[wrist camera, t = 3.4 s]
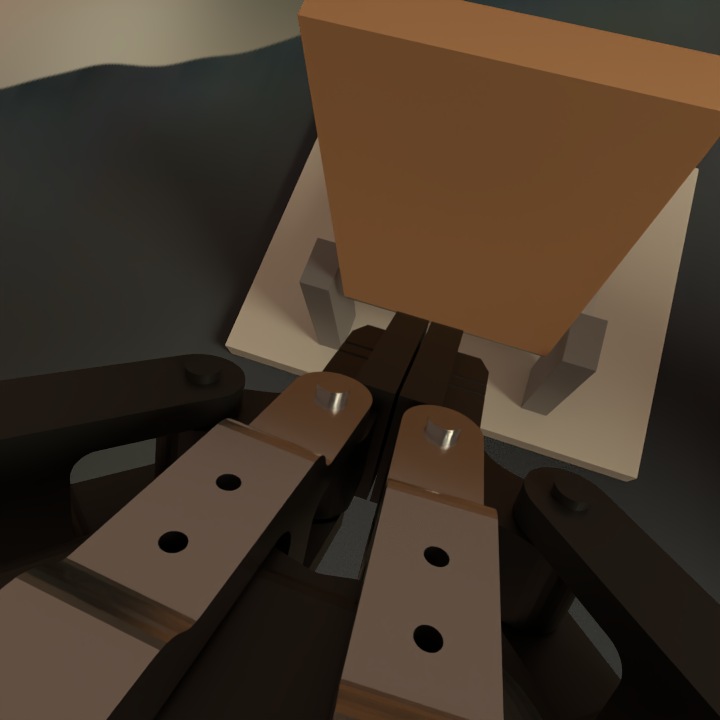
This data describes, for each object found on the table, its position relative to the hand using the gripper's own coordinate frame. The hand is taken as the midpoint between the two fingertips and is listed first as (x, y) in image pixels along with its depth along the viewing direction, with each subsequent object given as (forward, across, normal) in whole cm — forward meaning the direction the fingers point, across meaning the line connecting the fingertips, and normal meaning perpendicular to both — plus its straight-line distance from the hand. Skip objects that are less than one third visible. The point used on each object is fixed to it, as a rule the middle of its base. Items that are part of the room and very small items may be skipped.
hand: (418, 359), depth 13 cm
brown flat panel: (+10, 0, +2) cm, 10 cm away
